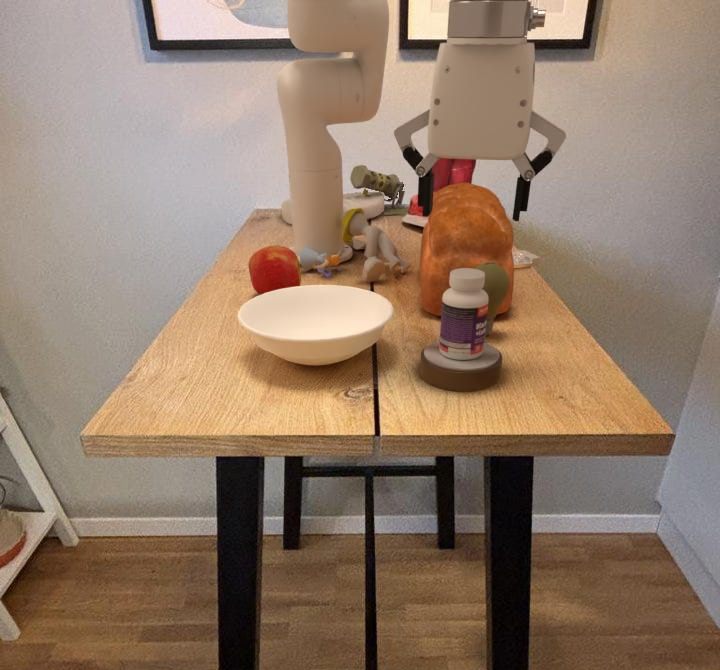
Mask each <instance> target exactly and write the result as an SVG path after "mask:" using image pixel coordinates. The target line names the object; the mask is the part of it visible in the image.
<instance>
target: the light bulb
mask: <svg viewBox="0 0 720 670" xmlns="http://www.w3.org/2000/svg"><path fill="white" fill-rule="evenodd" d="M475 269H477V270H481V271H483V272H484V273H485V282H484V287H483V288H482V290H484V291H485V292H486V293H487V295H488V298H489V300H488V312H487V321H486V331H485V337H487V336H488V335H489V334H491V333H492V332H493V328H494V320H495V318H496V317H497V315H498V314H497V311H498V309H499V307H500V305H501V303H502V302H503V300H504V299H505V297H506V295H507V293H508V289H509V278H508V275H507V273H506V271H505V270H504V269H503V268H502V267H501V266H500V265H498V264H496V263H491V262H488V263H483V264H481V265H479V266H477V267H476V268H475ZM496 314H497V315H496Z"/></svg>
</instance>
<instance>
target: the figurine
mask: <svg viewBox="0 0 720 670" xmlns="http://www.w3.org/2000/svg"><path fill="white" fill-rule="evenodd" d="M342 225H343V229H344V230H343V236H342V239H343V241H344V244H348V243H350V242H351V241H352V240H351V239H352V238H355V237H360V236H364V238H365V239H366V240H365V241H366V243H367V246H366V249H364V253H363V256H364V258H367V259H366V260H365V262H364V264H363V270H362V275H361V276H362V278H363V279H365V280H366V282H368V283H372V282H375V281H376V280H378V279H379V278H380V277H381V276H382V275H383V274H384V273H385V270H386V264H385V262H384V261H383V260H381V259H378V258H379V256H380V254H381V255H382V256H383V257H384V259H385V260H386V261H387V262H388V263H389V267H388V270H389V271H390V272H392V271H393V270H394V269H396V268H397V267H401V268H400V273H401V274H405V273H406V272H407V271H408V270H409V269H410V268H411V267H412V263H411V262H410V261H408V260H407V259H404V258H403V257H401V255H400V253H399V251H398V249H397V247H396V245H395V244H394V242H393V240H392V238H391V237H390V236H389V235H388V234H387V232H385V230H383V229H381V228H380V227H378V226H376V225H370V224H369V223H368V219H366V218H365V216H364V211H363V210H362V209H361V208H357V209H351V210H349V211H348V212H347V213H346V214H345V216H344V218H343V221H342Z"/></svg>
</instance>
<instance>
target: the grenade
mask: <svg viewBox="0 0 720 670" xmlns="http://www.w3.org/2000/svg"><path fill="white" fill-rule="evenodd" d="M399 179H400V178H399V177H398V175H397V174H394V173H390V174H384V173H380V172H377V171H373V170H371V169H368V167H367V165H365V164H359V165H356V166H354V167H353V168H352V170H351V172H350V178H349V180H350V183H351V185H352V187H353V189H361V188H362V189H364V191H363V194H364V195H365V196H368V197H370V196H369V195H367V194H368V190H366V189H371V190H375V191H379V192H381V193H382V194H384V197H387V198H388V197H389V198H391V199H388V200H386V199H387V198H384V202H389V203H391V207H392V208H393V209H397V207H398V205H402V204H403V200H404V197H405V193H406V191H405V190H404V191H402V190H403V187H404V184H403V182H400V181H399ZM398 192H399V198H398V197H397V195H398ZM396 200H397V201H396Z"/></svg>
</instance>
